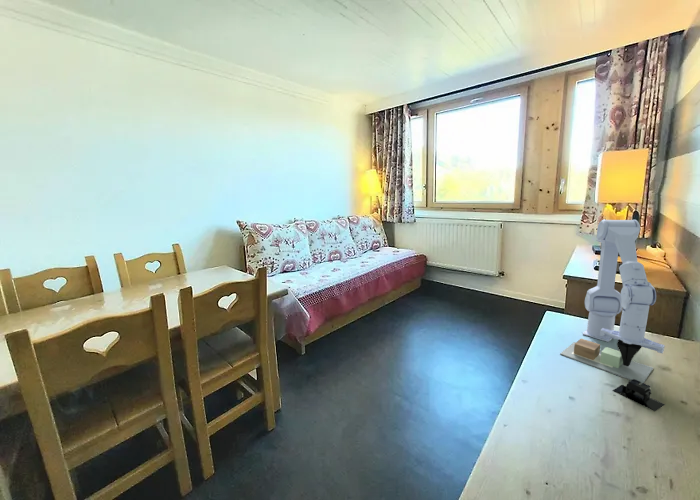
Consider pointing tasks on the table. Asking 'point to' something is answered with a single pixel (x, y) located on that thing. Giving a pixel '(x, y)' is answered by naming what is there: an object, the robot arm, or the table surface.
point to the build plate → (628, 372)
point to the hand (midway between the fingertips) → (626, 364)
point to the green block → (611, 357)
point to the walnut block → (587, 349)
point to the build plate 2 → (639, 394)
